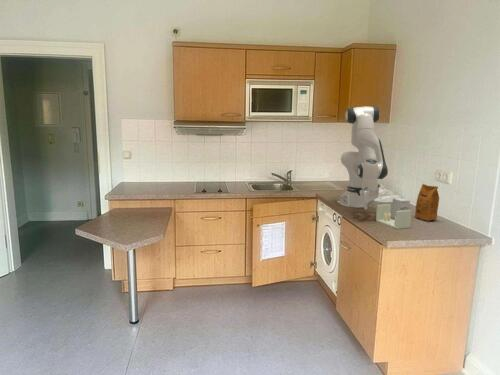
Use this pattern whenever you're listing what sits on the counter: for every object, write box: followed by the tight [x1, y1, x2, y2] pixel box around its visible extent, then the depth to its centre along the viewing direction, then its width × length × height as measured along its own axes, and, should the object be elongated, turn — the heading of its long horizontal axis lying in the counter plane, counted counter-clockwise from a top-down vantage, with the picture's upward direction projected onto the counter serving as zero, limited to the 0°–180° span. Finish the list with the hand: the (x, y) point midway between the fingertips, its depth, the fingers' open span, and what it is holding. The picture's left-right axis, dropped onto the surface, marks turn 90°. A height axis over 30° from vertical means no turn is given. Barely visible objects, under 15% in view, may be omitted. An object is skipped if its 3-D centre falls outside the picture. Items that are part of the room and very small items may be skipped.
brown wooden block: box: [353, 212, 376, 221], centre depth 224 cm, size 14×5×4 cm, turn 92°
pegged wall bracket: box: [374, 203, 412, 230], centre depth 213 cm, size 18×10×10 cm, turn 21°
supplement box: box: [391, 198, 411, 220], centre depth 226 cm, size 7×7×13 cm
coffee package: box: [414, 183, 440, 222], centre depth 227 cm, size 10×12×22 cm
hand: (368, 207), depth 223 cm, fingers open, 6 cm apart
